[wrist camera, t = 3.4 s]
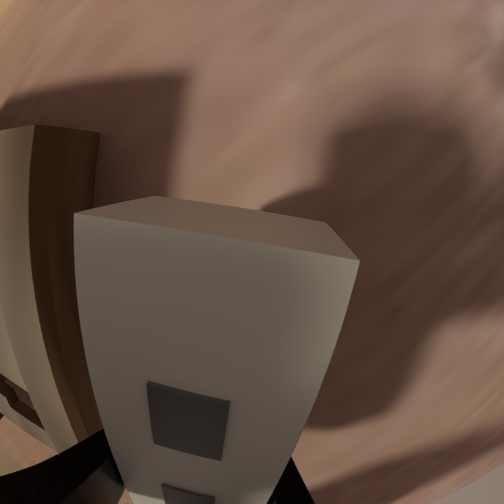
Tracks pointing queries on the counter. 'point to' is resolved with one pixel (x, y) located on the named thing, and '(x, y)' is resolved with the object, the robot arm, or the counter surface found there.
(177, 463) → the power strip
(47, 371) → the keyhole board
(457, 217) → the counter surface
